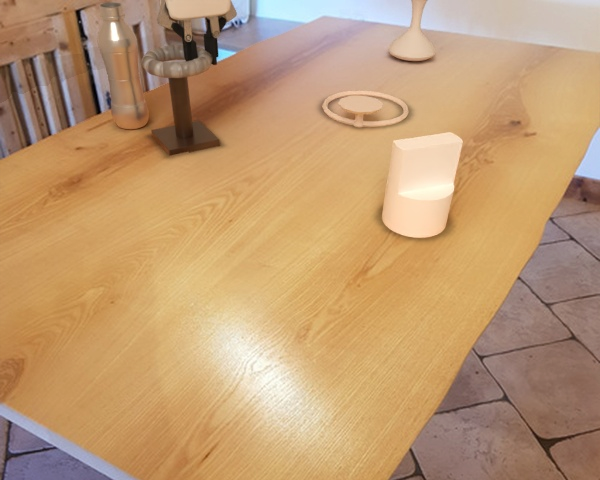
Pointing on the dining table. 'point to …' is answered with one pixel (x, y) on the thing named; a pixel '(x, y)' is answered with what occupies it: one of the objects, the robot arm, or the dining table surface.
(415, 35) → the flower in vase
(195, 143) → the stand
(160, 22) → the robot arm
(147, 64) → the segmented ring
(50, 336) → the dining table surface
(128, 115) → the plastic bottle
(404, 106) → the hand towel holder
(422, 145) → the cylinder with rectangular tab
